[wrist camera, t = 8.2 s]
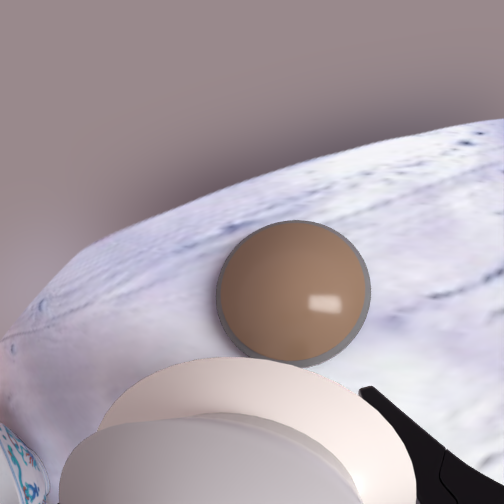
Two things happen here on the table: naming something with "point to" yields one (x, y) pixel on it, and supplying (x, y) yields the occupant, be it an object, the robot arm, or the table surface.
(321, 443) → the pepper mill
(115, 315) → the table surface
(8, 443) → the chinaware
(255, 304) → the display plinth
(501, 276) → the table surface
